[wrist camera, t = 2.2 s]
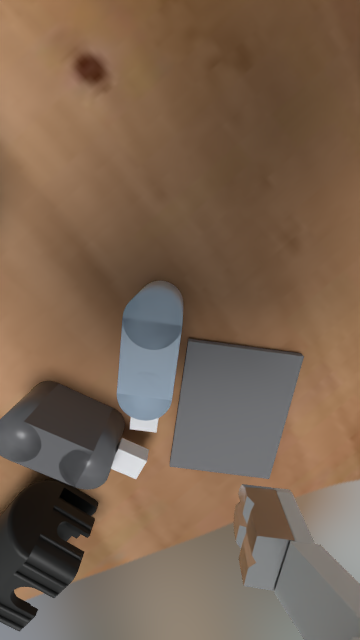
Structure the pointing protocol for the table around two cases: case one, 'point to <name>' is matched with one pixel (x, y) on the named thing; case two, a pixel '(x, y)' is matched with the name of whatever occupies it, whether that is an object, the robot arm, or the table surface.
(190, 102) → the table surface
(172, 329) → the blue connector
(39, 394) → the dark gray connector
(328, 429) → the table surface
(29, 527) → the end cap
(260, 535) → the robot arm
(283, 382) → the pad
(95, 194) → the table surface
